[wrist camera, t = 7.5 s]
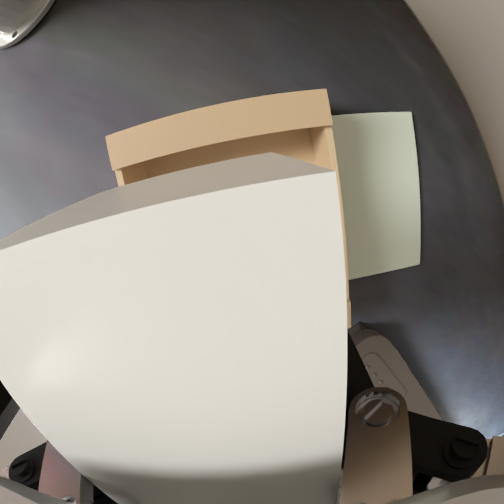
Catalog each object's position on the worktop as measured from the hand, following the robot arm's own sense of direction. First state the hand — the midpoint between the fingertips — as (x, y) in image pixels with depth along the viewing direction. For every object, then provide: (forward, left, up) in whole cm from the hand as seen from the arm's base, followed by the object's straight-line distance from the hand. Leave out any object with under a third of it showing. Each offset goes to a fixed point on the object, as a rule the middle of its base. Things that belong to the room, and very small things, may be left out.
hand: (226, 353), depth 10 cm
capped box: (0, 0, 0) cm, 1 cm away
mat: (0, +13, -17) cm, 21 cm away
